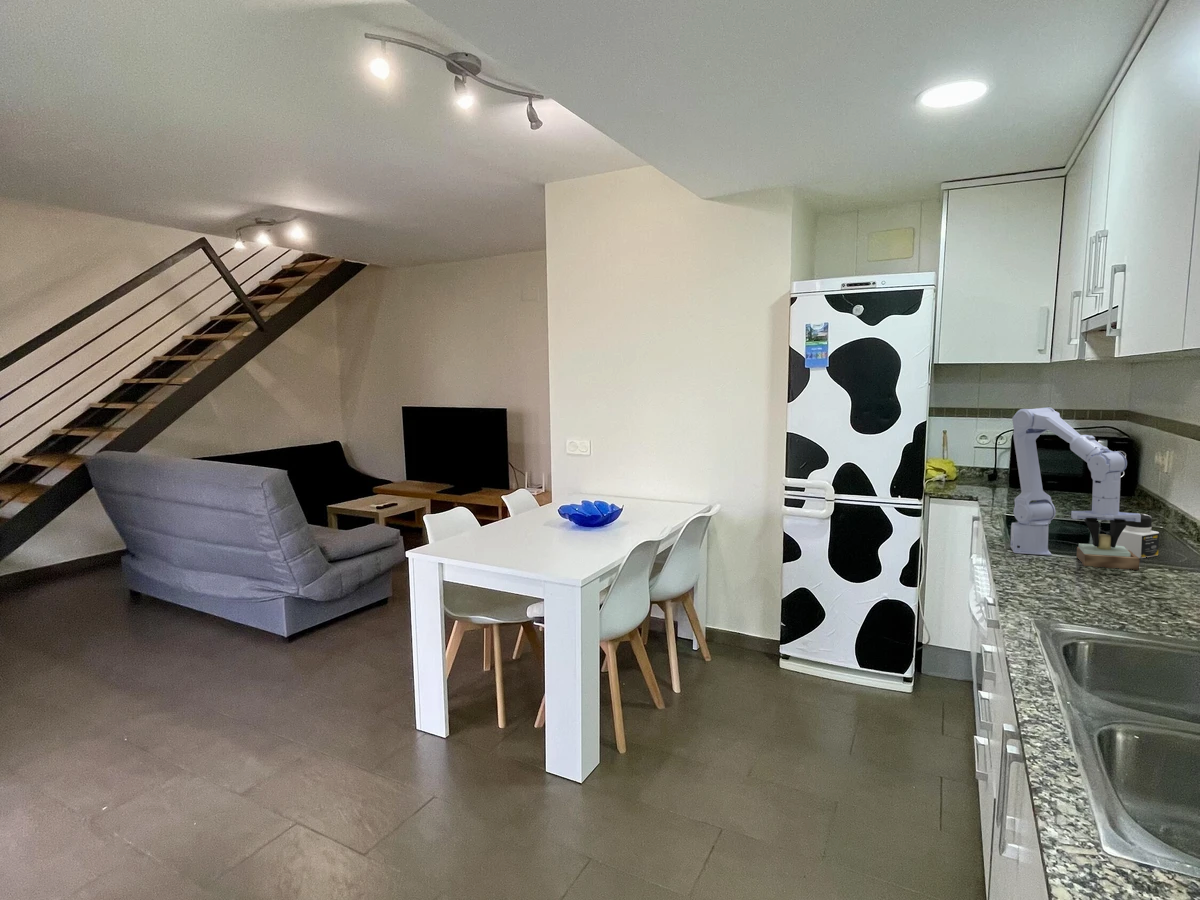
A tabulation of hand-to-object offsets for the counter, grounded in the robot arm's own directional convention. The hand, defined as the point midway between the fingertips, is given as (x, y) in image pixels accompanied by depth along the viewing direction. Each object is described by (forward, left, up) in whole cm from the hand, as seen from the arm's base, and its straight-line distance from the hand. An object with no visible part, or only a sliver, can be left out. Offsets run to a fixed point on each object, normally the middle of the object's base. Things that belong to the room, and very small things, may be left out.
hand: (1104, 546), depth 168 cm
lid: (0, 0, -2) cm, 2 cm away
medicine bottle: (+13, +23, -8) cm, 27 cm away
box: (+3, +10, -7) cm, 12 cm away
